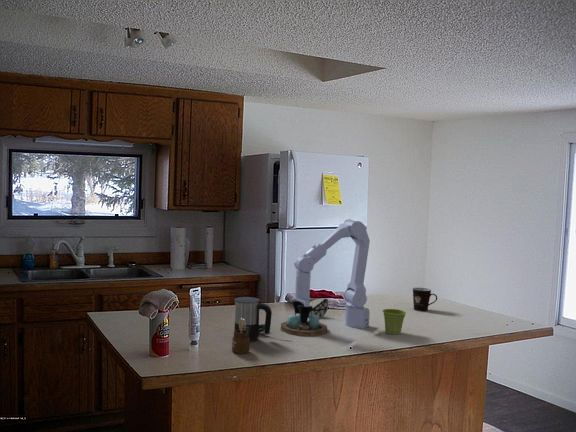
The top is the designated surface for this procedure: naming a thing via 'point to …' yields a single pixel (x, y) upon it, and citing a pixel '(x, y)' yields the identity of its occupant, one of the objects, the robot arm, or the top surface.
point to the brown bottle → (241, 340)
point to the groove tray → (302, 332)
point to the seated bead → (313, 322)
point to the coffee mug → (422, 298)
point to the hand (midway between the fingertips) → (301, 320)
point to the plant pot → (393, 320)
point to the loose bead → (299, 320)
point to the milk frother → (251, 316)
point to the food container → (319, 307)
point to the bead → (292, 322)
